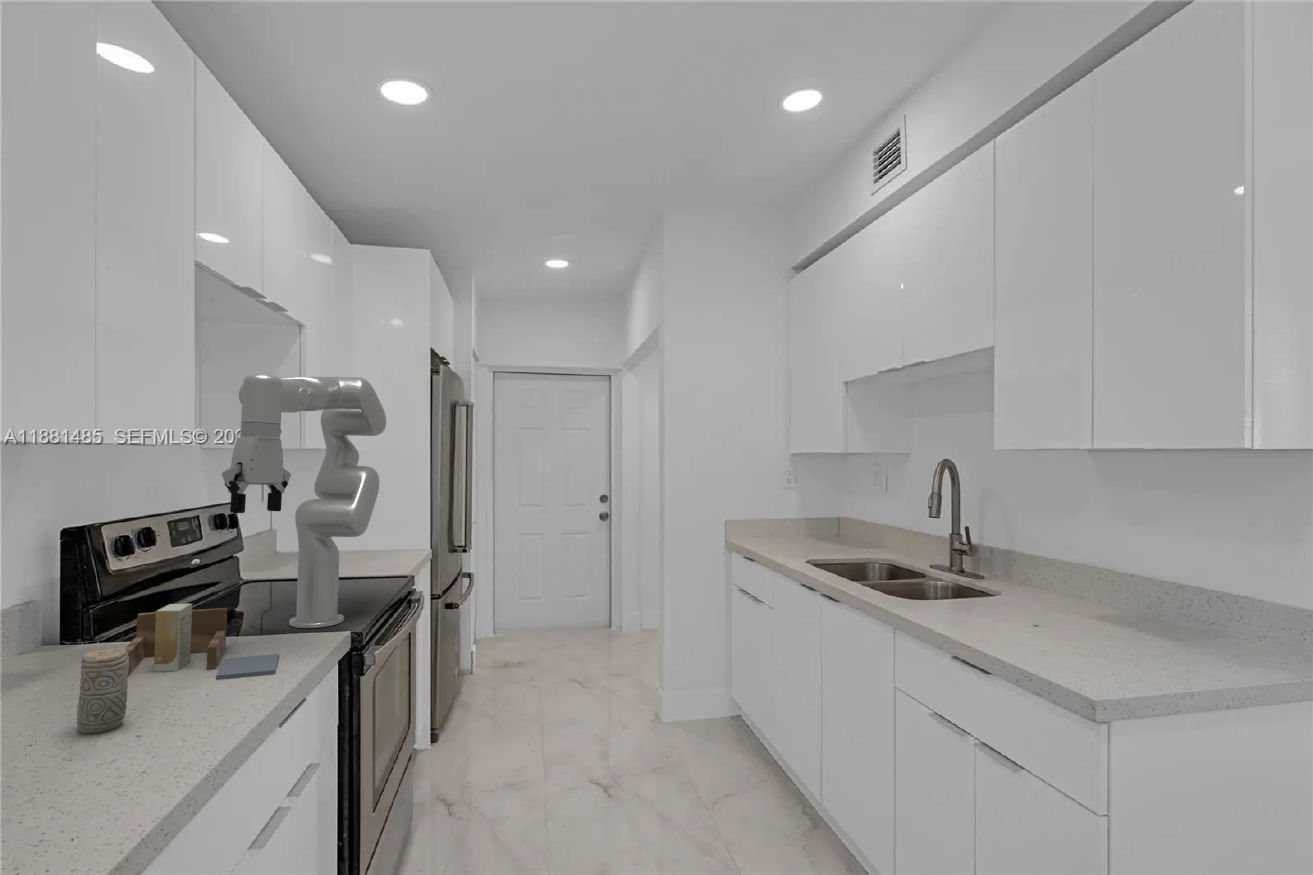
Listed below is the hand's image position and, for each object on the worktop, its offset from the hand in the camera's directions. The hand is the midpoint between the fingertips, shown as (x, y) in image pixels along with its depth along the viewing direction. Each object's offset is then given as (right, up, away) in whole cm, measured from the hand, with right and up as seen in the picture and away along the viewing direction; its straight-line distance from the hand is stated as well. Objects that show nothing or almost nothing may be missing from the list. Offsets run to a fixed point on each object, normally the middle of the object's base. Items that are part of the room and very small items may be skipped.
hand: (256, 511), depth 151 cm
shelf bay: (-13, -30, -6) cm, 34 cm away
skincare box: (-12, -31, -9) cm, 34 cm away
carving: (-2, -30, -39) cm, 50 cm away
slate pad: (+3, -31, -8) cm, 32 cm away
